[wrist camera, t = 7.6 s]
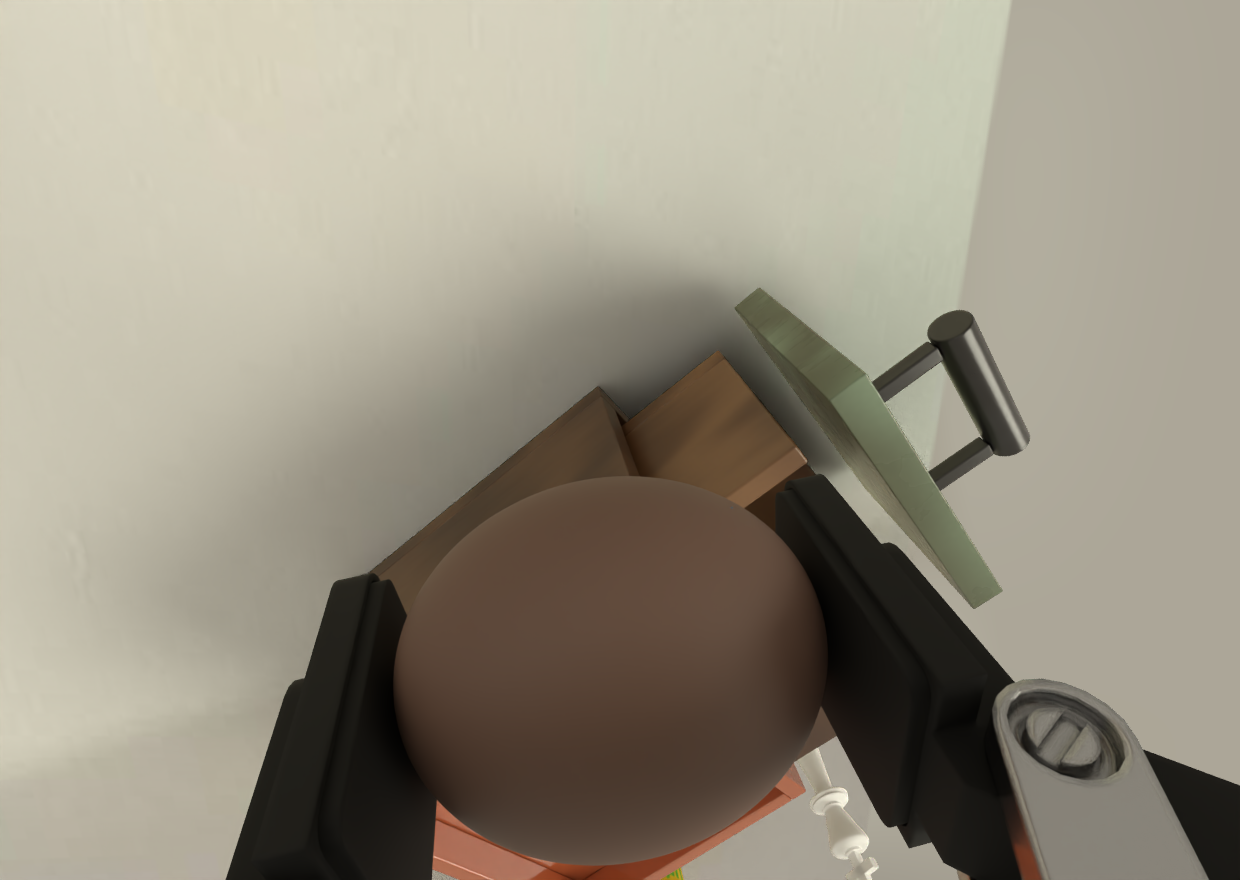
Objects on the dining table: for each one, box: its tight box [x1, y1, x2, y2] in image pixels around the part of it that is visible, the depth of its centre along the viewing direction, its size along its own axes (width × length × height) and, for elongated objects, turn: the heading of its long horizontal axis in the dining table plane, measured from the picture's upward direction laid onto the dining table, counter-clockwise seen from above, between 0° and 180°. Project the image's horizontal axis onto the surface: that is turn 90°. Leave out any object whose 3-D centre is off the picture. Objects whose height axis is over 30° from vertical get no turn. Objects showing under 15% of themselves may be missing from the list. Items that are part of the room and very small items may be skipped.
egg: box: [393, 476, 828, 866], centre depth 9 cm, size 6×6×4 cm
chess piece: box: [797, 748, 879, 880], centre depth 35 cm, size 5×5×10 cm
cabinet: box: [368, 387, 837, 761], centre depth 26 cm, size 15×13×10 cm
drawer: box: [621, 288, 1030, 609], centre depth 24 cm, size 18×12×8 cm, turn 129°
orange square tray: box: [432, 763, 806, 880], centre depth 21 cm, size 10×10×2 cm
